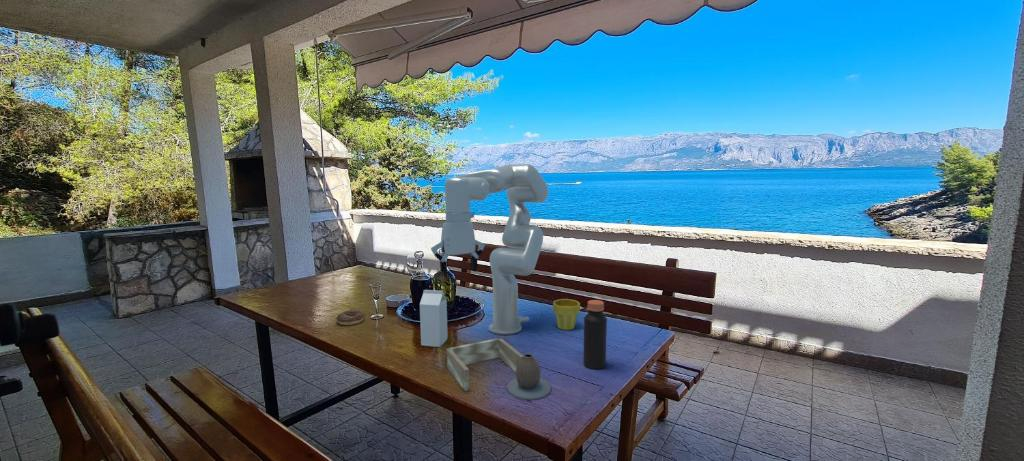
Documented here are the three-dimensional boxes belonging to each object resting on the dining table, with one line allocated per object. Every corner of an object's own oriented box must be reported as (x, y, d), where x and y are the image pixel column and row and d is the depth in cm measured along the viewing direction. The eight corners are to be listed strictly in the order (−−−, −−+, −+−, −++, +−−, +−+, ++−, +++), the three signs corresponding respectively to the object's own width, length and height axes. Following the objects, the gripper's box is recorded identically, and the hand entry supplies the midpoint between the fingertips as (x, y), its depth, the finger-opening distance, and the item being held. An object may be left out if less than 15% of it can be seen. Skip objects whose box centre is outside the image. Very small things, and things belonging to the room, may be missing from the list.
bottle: (601, 371, 121) (602, 306, 119) (579, 366, 125) (581, 303, 122) (608, 363, 127) (610, 301, 124) (588, 358, 131) (589, 297, 128)
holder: (500, 355, 133) (500, 337, 132) (524, 376, 119) (524, 356, 118) (446, 367, 125) (446, 348, 124) (465, 391, 110) (464, 370, 110)
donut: (355, 316, 173) (354, 306, 172) (370, 321, 166) (369, 311, 166) (331, 323, 164) (330, 313, 164) (346, 328, 158) (345, 318, 157)
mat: (536, 374, 120) (536, 372, 120) (559, 392, 109) (559, 390, 109) (500, 383, 114) (500, 381, 114) (520, 404, 104) (520, 402, 104)
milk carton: (440, 347, 139) (438, 293, 137) (420, 345, 141) (419, 292, 138) (447, 339, 146) (446, 288, 144) (429, 338, 148) (427, 287, 145)
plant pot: (585, 328, 157) (585, 303, 156) (565, 333, 151) (565, 308, 150) (567, 320, 165) (567, 297, 164) (547, 325, 160) (547, 301, 158)
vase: (514, 380, 115) (513, 351, 114) (537, 378, 116) (538, 349, 115) (517, 393, 108) (517, 361, 107) (543, 391, 109) (543, 360, 108)
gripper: (479, 215, 133) (479, 267, 135) (427, 218, 125) (428, 272, 127) (488, 217, 126) (489, 271, 128) (434, 220, 118) (435, 277, 120)
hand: (459, 272), depth 128 cm, fingers open, 9 cm apart
